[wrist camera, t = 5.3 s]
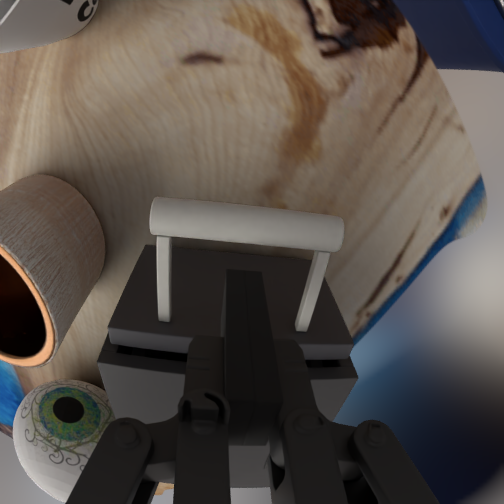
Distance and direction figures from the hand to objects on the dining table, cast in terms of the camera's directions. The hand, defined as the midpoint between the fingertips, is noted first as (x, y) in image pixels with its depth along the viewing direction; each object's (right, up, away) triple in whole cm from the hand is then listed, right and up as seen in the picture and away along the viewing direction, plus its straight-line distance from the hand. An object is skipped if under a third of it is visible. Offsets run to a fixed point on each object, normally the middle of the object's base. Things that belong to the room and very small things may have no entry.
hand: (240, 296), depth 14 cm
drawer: (-2, -3, +11) cm, 12 cm away
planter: (-16, +3, +8) cm, 18 cm away
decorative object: (-19, -15, +18) cm, 30 cm away
